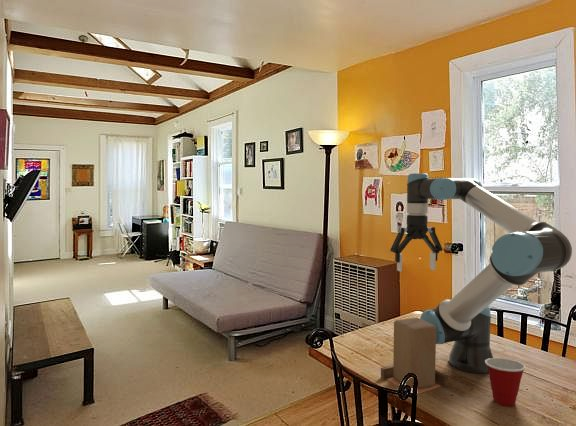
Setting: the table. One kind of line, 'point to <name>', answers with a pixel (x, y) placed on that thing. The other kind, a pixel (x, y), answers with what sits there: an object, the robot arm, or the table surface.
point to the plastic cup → (505, 379)
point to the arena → (439, 377)
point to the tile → (418, 389)
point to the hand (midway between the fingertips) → (416, 270)
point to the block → (414, 351)
